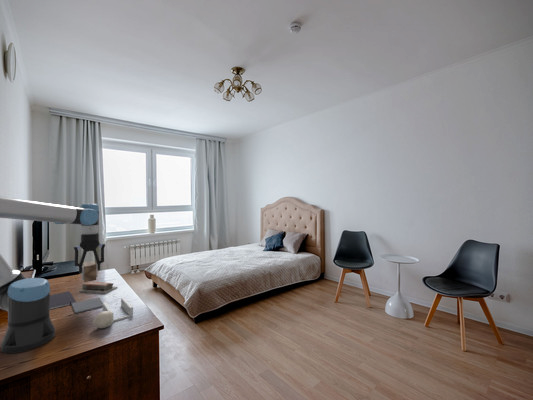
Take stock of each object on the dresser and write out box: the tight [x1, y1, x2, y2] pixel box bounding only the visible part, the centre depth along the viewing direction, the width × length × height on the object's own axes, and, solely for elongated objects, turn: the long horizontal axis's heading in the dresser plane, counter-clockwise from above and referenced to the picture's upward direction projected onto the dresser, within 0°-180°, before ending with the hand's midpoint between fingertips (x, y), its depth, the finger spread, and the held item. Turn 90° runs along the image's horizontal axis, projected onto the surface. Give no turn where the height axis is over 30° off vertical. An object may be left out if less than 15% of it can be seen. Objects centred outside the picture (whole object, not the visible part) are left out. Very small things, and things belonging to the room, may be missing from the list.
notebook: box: [50, 290, 77, 310], centre depth 134 cm, size 13×2×21 cm
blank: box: [82, 260, 97, 283], centre depth 129 cm, size 5×10×8 cm, turn 42°
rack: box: [102, 297, 134, 323], centre depth 120 cm, size 9×17×4 cm, turn 44°
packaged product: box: [79, 280, 118, 295], centre depth 150 cm, size 18×5×10 cm
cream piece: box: [92, 310, 114, 329], centre depth 107 cm, size 7×7×7 cm
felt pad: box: [71, 297, 103, 314], centre depth 128 cm, size 12×14×1 cm
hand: (89, 277), depth 128 cm, fingers closed on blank, 5 cm apart
